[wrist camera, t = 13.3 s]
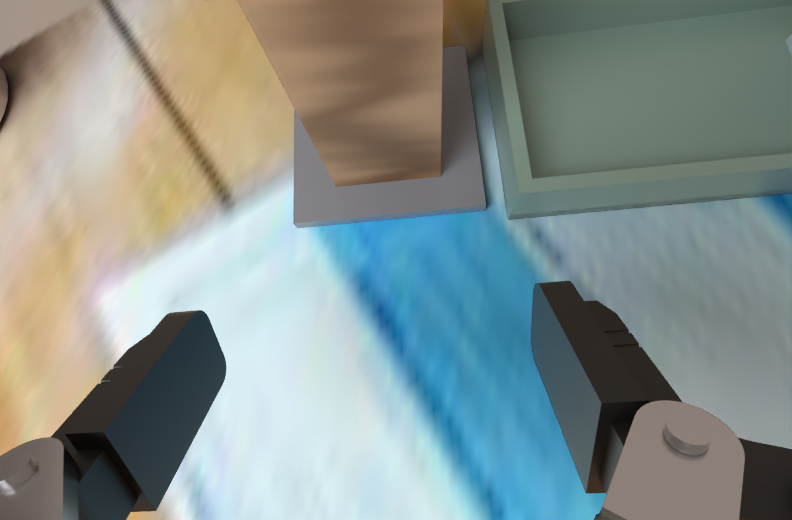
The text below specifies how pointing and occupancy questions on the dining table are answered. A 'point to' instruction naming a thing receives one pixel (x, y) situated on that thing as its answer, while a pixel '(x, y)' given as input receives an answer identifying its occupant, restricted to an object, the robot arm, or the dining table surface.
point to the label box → (360, 81)
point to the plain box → (789, 43)
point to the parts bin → (638, 102)
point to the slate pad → (407, 197)
